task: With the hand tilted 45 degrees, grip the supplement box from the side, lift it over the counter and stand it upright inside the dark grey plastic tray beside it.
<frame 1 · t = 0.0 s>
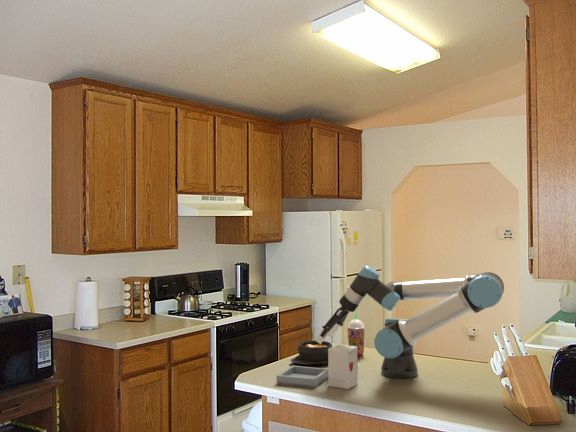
hand: (323, 338, 249), 15 cm above the counter, tool tilted 35°, fingers open, 13 cm apart
supplement box: (343, 385, 235), on the counter
smoothie: (356, 355, 282), on the counter
casserole: (315, 362, 271), on the counter
tray: (303, 380, 241), on the counter
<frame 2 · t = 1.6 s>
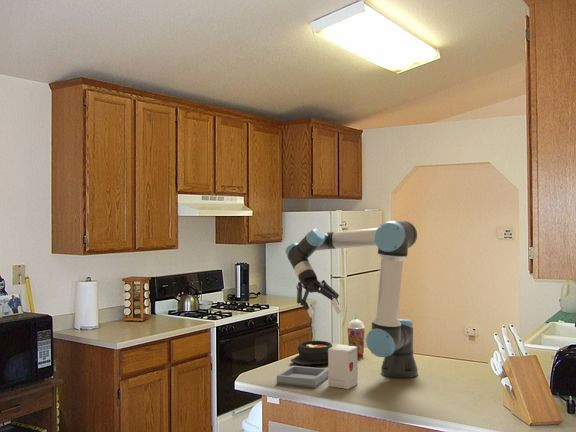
hand: (326, 313, 244), 27 cm above the counter, tool tilted 45°, fingers open, 13 cm apart
nothing on the counter moved.
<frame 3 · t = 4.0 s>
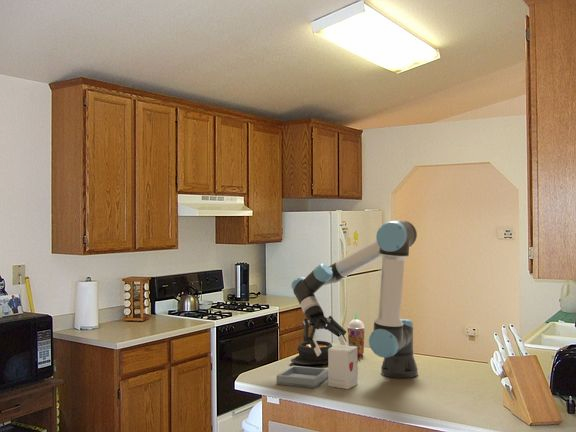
hand: (333, 352, 239), 12 cm above the counter, tool tilted 45°, fingers open, 13 cm apart
nothing on the counter moved.
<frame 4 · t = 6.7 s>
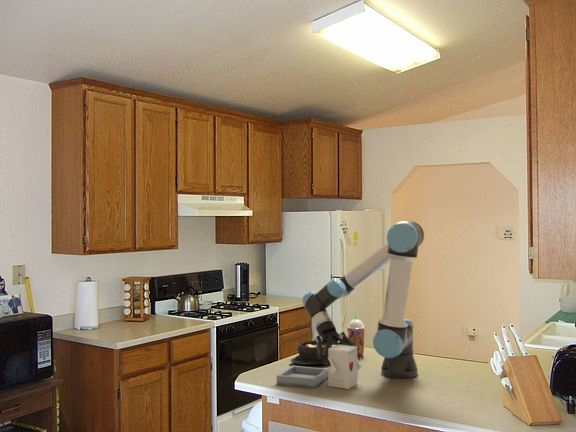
hand: (347, 370, 232), 6 cm above the counter, tool tilted 45°, fingers closed on supplement box, 11 cm apart
supplement box: (343, 385, 235), on the counter, touching gripper
everything else where it was.
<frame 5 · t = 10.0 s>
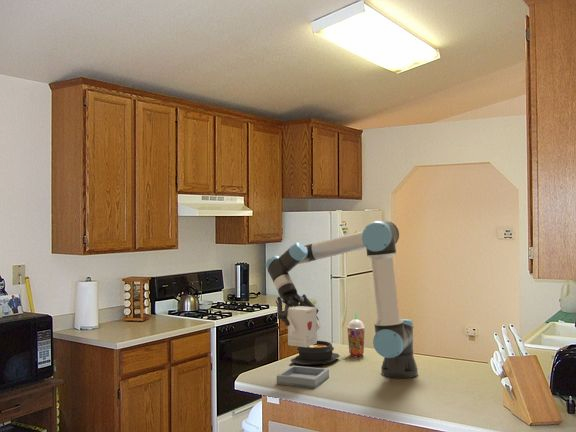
hand: (306, 330, 239), 21 cm above the counter, tool tilted 45°, fingers closed on supplement box, 11 cm apart
supplement box: (302, 344, 241), point 15 cm above the counter, touching gripper
everything else where it was.
when the fingers open (8 cm above the counter, at t = 13.3 s): supplement box stays where it is, resting on tray.
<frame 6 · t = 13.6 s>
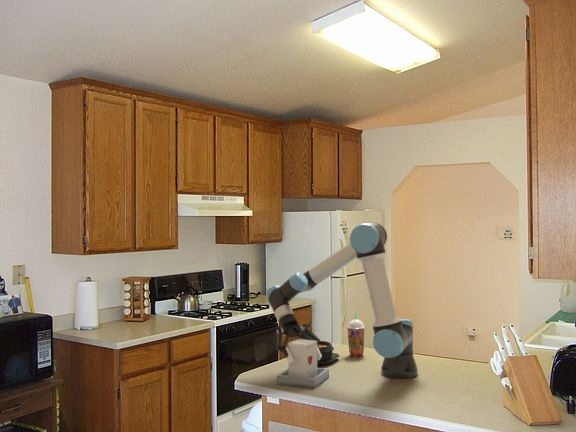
hand: (306, 360, 239), 9 cm above the counter, tool tilted 45°, fingers open, 13 cm apart
supplement box: (303, 378, 241), point 1 cm above the counter, touching tray
everything else where it was.
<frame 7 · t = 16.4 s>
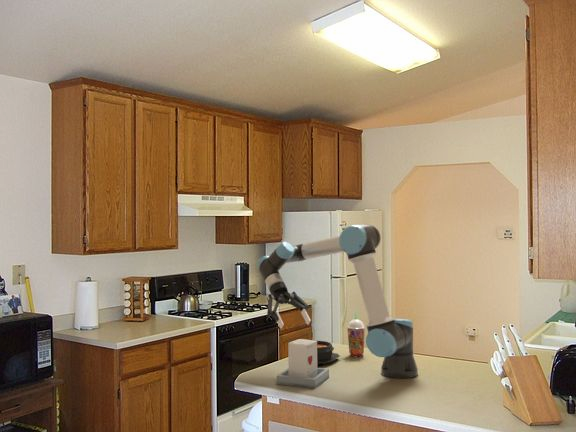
hand: (295, 324, 252), 21 cm above the counter, tool tilted 45°, fingers open, 13 cm apart
nothing on the counter moved.
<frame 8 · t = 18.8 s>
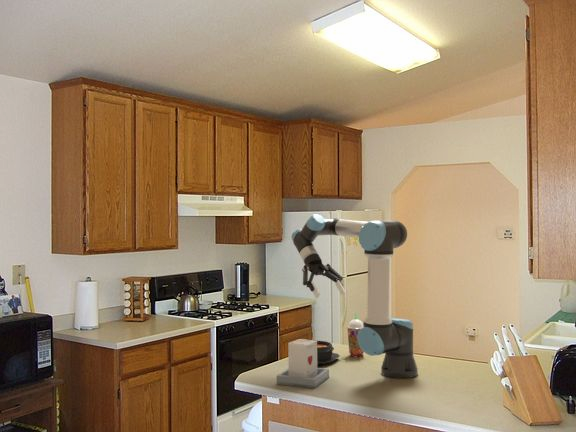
hand: (331, 295, 256), 33 cm above the counter, tool tilted 45°, fingers open, 13 cm apart
nothing on the counter moved.
at the end: supplement box inside the target area on the tray (0.1 cm from its centre), point 0.8 cm above the tray's base; supplement box tilted 0°; the gripper is holding nothing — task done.
